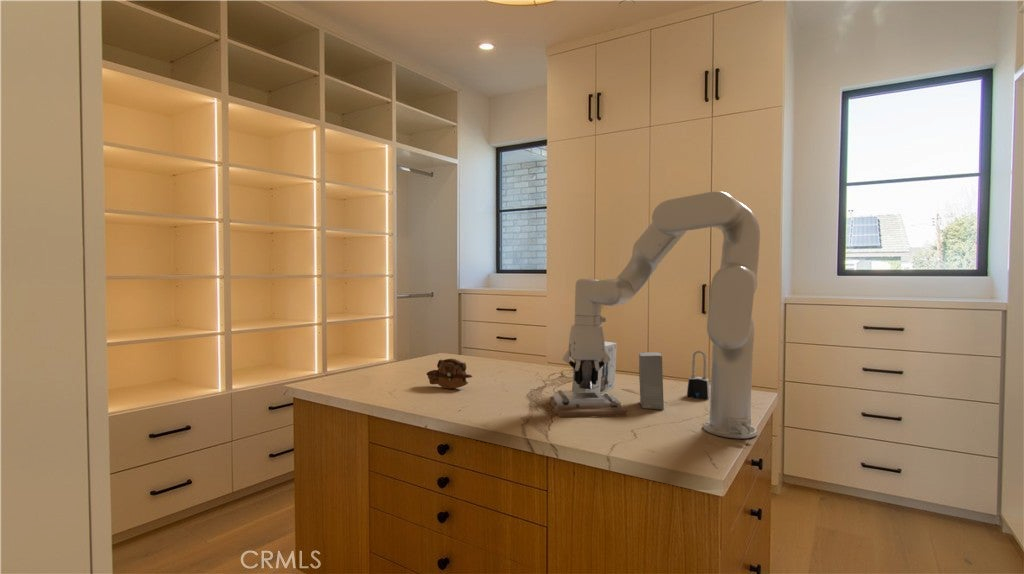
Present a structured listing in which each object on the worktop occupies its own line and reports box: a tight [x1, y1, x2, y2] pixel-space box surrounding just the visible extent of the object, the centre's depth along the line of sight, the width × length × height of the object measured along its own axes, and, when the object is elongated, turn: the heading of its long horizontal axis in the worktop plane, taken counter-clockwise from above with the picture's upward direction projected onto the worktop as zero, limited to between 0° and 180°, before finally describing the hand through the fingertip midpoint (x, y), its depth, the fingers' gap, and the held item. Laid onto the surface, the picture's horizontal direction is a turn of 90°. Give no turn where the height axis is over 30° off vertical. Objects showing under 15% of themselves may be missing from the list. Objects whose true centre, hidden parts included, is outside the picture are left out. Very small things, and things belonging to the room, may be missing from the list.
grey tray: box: [553, 389, 622, 408], centre depth 149 cm, size 9×18×3 cm, turn 95°
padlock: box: [686, 350, 711, 400], centre depth 163 cm, size 7×4×15 cm, turn 62°
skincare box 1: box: [571, 341, 618, 395], centre depth 167 cm, size 21×5×16 cm, turn 143°
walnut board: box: [549, 396, 627, 418], centre depth 149 cm, size 16×19×2 cm
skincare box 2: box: [638, 351, 665, 410], centre depth 152 cm, size 8×7×16 cm
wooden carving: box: [426, 358, 473, 389], centre depth 171 cm, size 16×5×10 cm, turn 73°
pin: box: [579, 360, 593, 389], centre depth 148 cm, size 4×4×9 cm
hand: (585, 382), depth 149 cm, fingers closed on pin, 4 cm apart
